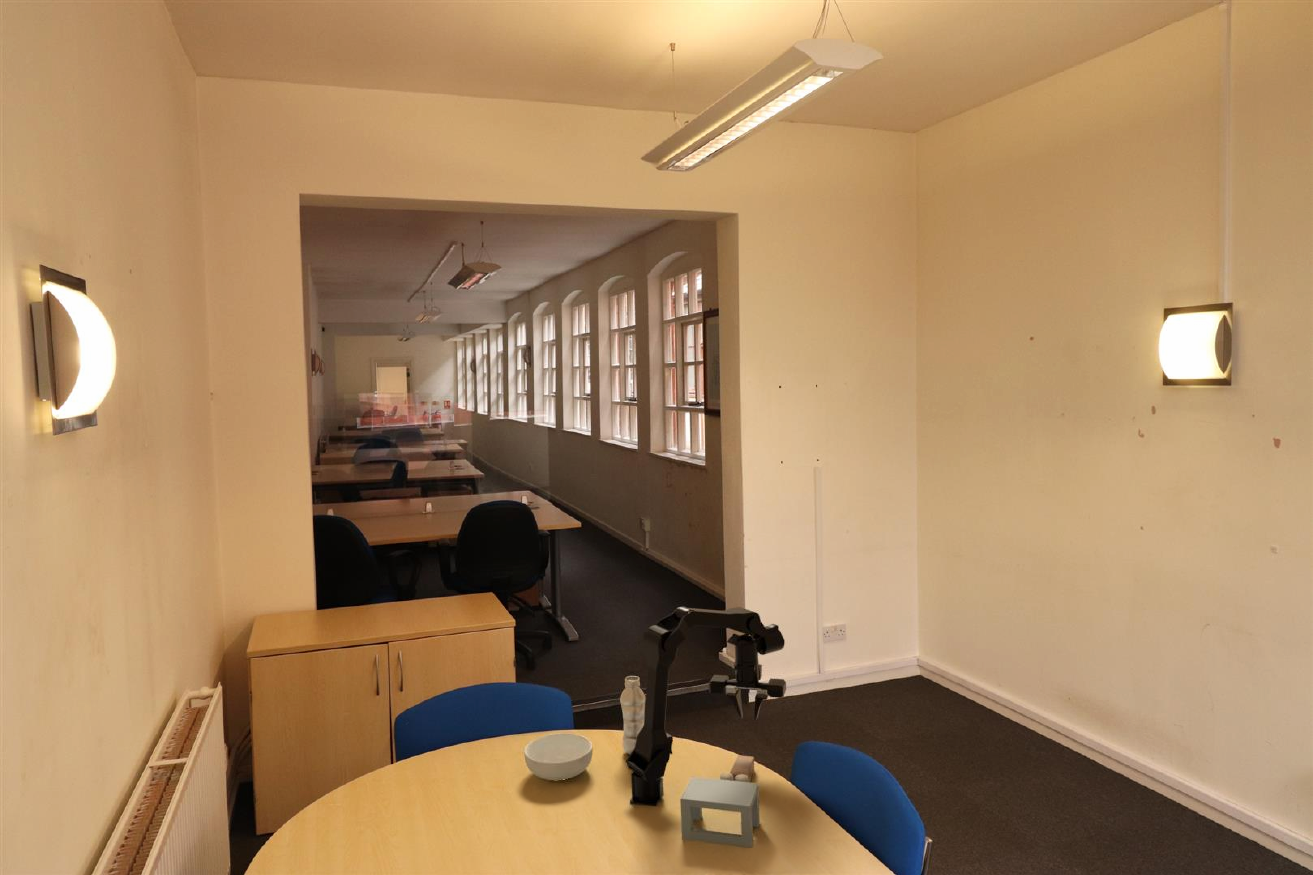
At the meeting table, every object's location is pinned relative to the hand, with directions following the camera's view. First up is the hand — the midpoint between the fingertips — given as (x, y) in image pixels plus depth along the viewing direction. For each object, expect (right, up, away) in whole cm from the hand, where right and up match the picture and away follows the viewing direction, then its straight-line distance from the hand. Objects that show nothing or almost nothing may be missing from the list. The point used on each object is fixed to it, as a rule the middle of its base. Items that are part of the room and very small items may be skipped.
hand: (748, 718), depth 218 cm
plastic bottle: (-29, -12, +8) cm, 32 cm away
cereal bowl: (-47, -13, -2) cm, 49 cm away
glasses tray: (-4, -12, -12) cm, 18 cm away
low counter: (-9, -14, -31) cm, 35 cm away
